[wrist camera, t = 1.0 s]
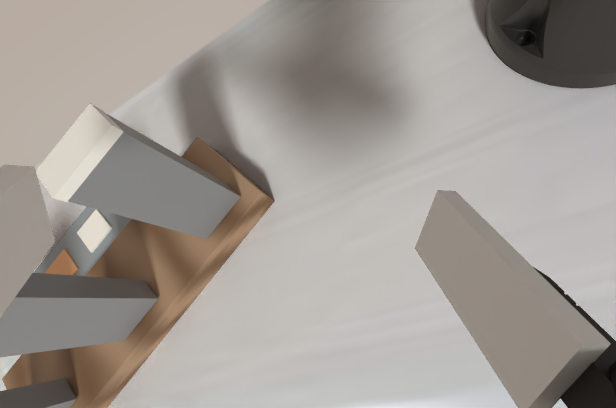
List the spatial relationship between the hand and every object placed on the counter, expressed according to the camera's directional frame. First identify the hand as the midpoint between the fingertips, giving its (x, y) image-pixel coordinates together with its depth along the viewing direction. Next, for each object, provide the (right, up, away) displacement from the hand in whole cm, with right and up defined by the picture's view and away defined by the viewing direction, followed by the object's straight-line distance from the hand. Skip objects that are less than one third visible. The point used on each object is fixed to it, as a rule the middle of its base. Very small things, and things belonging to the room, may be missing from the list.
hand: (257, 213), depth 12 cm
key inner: (-7, 0, +20) cm, 21 cm away
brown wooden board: (-15, -9, +24) cm, 30 cm away
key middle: (-14, -10, +20) cm, 27 cm away
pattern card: (-23, -3, +29) cm, 37 cm away
